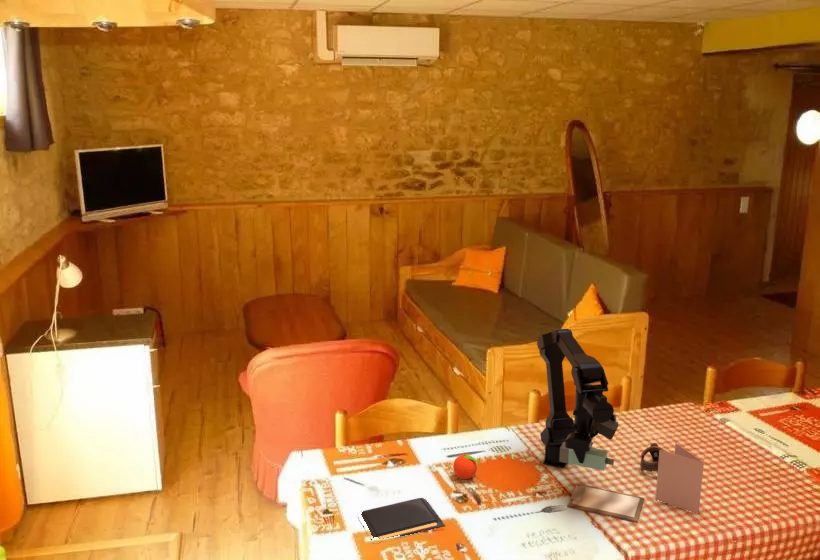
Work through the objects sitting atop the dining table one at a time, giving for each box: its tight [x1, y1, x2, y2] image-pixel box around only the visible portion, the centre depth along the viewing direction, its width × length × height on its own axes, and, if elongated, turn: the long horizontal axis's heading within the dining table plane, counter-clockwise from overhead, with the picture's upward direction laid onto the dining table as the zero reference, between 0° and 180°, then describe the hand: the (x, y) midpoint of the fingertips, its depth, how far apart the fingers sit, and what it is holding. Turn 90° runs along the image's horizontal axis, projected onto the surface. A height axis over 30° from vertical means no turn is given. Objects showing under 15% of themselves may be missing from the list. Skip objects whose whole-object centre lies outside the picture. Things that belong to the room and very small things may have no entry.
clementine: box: [452, 453, 481, 480], centre depth 205 cm, size 8×7×7 cm
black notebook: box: [361, 497, 446, 539], centre depth 186 cm, size 20×2×15 cm
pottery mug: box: [640, 442, 668, 473], centre depth 209 cm, size 12×10×8 cm
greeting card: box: [655, 442, 705, 515], centre depth 189 cm, size 11×7×15 cm, turn 17°
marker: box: [559, 442, 615, 472], centre depth 194 cm, size 14×4×4 cm, turn 64°
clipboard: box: [567, 483, 645, 524], centre depth 192 cm, size 18×12×1 cm, turn 64°
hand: (583, 459), depth 194 cm, fingers closed on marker, 4 cm apart
